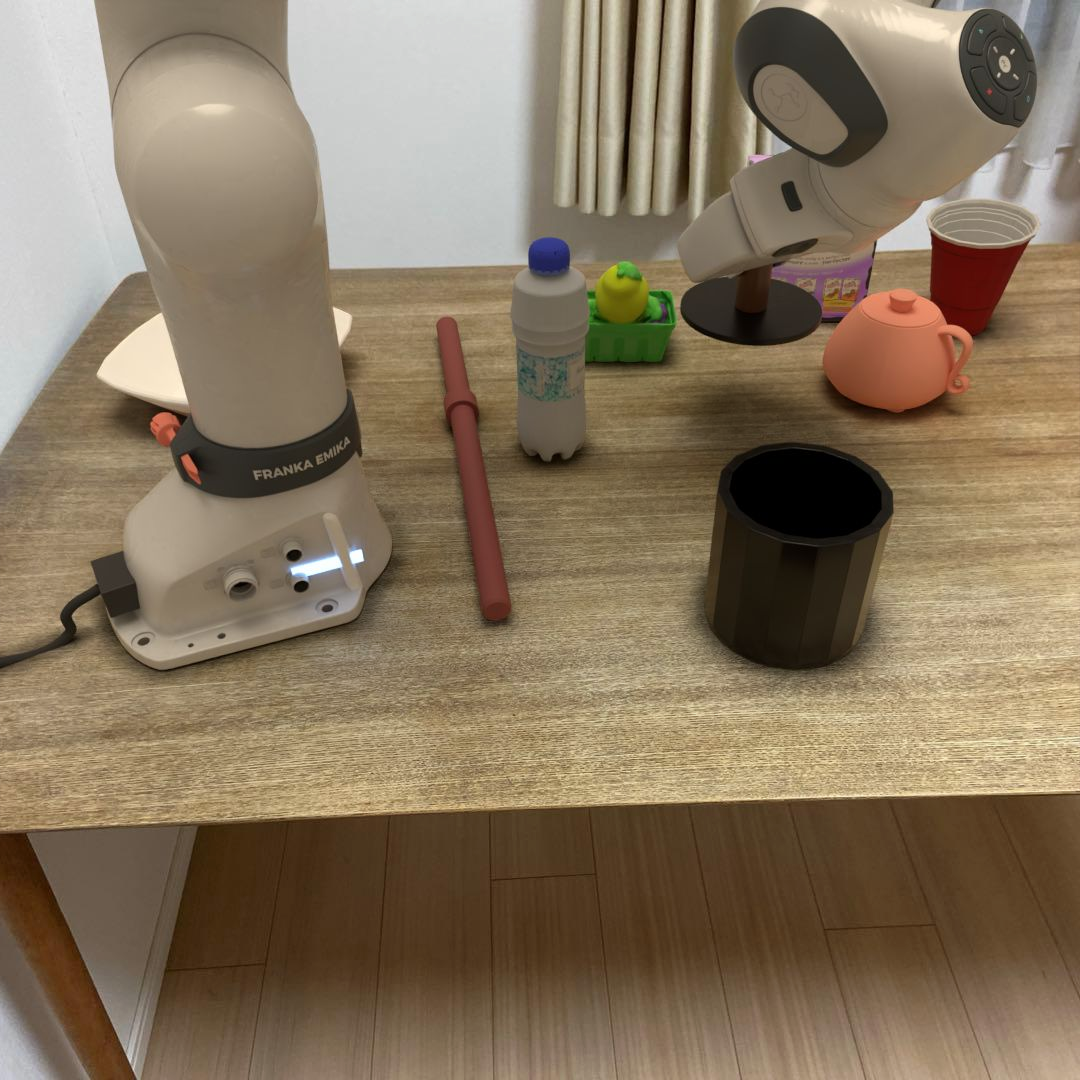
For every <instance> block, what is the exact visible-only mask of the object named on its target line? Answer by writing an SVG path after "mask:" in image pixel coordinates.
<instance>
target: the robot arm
mask: <svg viewBox="0 0 1080 1080" xmlns="http://www.w3.org/2000/svg"><path fill="white" fill-rule="evenodd" d="M941 1H942V0H759V2H758V3H757V4H756V6H755V7H754V8H753V10H752V12H751V13H750V15H749V16H748V18H747V19H746V21H744V23H743V24H742V25H741V27H740V29H739V30H738V32H737V34H736V37H735V41H734V45H733V52H732V60H733V72H734V77H735V79H736V83H737V86H738V87H737V88H738V89H739V92H740V94H741V97H742V98H743V100H744V102H745V103H746V105H747V107H748V108H749V109H750V111H751V113H752V114H753V115H754V116H755V117H756V118H757V119H758V121H760V123H761V124H763V125H764V127H765V128H767V129H768V130H769V131H770V132H771V133H772V134H773V135H774V136H775V137H776V138H778V139H779V140H780V141H782V142H783V143H784V144H786V145H787V146H789V147H791V148H789V149H787V150H785V151H783V152H779V153H777V154H773V155H774V156H772V157H770V158H767V159H765V160H762V161H759V162H757V163H754V164H753V165H750V166H747V165H746V166H744V167H743V168H741V169H740V170H739V171H737V172H736V173H735V174H734V175H733V176H732V177H731V178H730V180H729V184H730V185H729V186H730V188H731V190H730V191H728V192H726V193H724V194H723V195H720V196H719V197H718V198H716V199H715V200H714V201H713V202H712V203H710V204H709V205H708V206H707V207H706V208H705V209H704V210H702V211H701V213H700V214H699V215H697V217H696V218H695V219H694V220H693V221H692V222H691V223H690V224H689V225H688V226H687V227H686V228H685V229H684V231H683V232H682V233H681V235H680V236H679V238H678V239H677V244H676V247H677V251H678V256H679V259H680V262H681V265H682V267H683V270H684V272H685V274H686V276H687V277H688V279H689V280H690V282H692V283H694V284H699V283H701V282H704V281H707V280H711V279H715V278H720V277H728V278H729V279H731V278H735V277H739V276H743V275H745V274H746V273H747V272H749V271H750V270H751V269H754V268H758V267H762V266H766V265H770V264H773V267H778V266H782V265H784V264H786V263H787V262H788V261H790V260H791V259H793V258H797V257H801V256H805V255H809V254H813V253H825V252H832V253H837V254H850V253H855V252H858V251H860V250H863V249H864V248H866V247H867V246H869V245H870V244H872V243H873V242H875V241H876V240H877V241H879V239H881V238H882V237H884V236H885V235H887V234H888V233H889V232H891V231H893V230H894V229H895V228H897V227H898V226H900V225H901V224H903V223H904V222H906V221H907V220H909V219H910V218H911V217H912V216H913V215H914V214H915V213H916V212H917V211H918V209H919V208H920V207H921V206H922V205H923V203H924V202H927V201H931V200H934V199H937V198H940V197H942V196H943V195H945V194H946V193H948V192H950V191H951V190H953V189H954V188H956V187H957V186H958V185H960V184H961V183H963V182H964V181H966V180H967V179H968V178H969V177H971V176H972V175H974V174H975V173H976V172H977V171H979V170H980V169H981V168H982V167H984V166H985V165H986V164H988V163H989V162H990V161H991V160H992V159H993V158H995V156H997V155H999V153H1000V152H1002V151H1003V150H1004V149H1005V148H1006V147H1007V146H1008V145H1010V143H1011V142H1012V141H1013V140H1014V138H1016V137H1017V135H1018V134H1019V133H1020V132H1021V131H1022V129H1023V128H1024V126H1025V124H1026V123H1027V121H1028V118H1029V117H1030V114H1031V112H1032V110H1033V107H1034V104H1035V100H1036V96H1037V89H1038V69H1037V65H1036V64H1037V63H1036V59H1035V55H1034V53H1033V50H1032V47H1031V45H1030V41H1029V40H1028V38H1027V37H1026V35H1025V33H1024V32H1023V30H1022V29H1021V27H1020V26H1019V25H1018V24H1017V23H1016V21H1014V19H1013V18H1011V16H1009V15H1008V14H1006V13H1005V12H1003V11H1001V10H999V9H996V8H991V7H979V8H973V9H968V10H950V9H949V10H948V9H941V8H937V6H938V5H939V4H940V2H941ZM93 3H94V10H95V14H96V20H97V26H98V32H99V33H98V34H99V40H100V45H101V51H102V58H103V63H104V70H105V76H106V82H107V90H108V99H109V105H110V106H109V109H110V118H111V130H112V144H113V161H114V168H115V174H116V177H117V181H118V185H119V188H120V192H121V194H122V197H123V198H122V199H123V200H124V204H125V207H126V211H127V213H128V217H129V220H130V224H131V226H132V229H133V233H134V236H135V238H136V241H137V246H138V248H139V251H140V254H141V258H142V260H143V263H144V266H145V269H146V273H147V275H148V277H149V281H150V283H151V287H152V290H153V293H154V296H155V298H156V301H157V303H158V306H159V309H160V313H161V312H162V315H163V317H164V320H165V324H166V327H167V330H168V333H169V337H170V341H171V344H172V348H173V351H174V355H175V358H176V362H177V365H178V369H179V372H180V376H181V379H182V383H183V386H184V390H185V393H186V397H187V400H188V404H189V407H190V413H189V416H188V417H187V416H186V417H187V418H186V419H185V420H184V422H183V423H182V425H181V424H180V421H179V419H178V418H177V416H176V415H174V414H172V412H166V411H165V412H160V413H157V414H156V415H155V416H153V417H152V418H151V419H152V421H151V422H150V424H149V425H150V431H151V432H152V434H153V435H154V436H155V438H156V441H157V442H158V443H159V444H160V445H161V446H162V447H166V448H170V453H171V458H172V460H173V463H174V466H172V467H171V469H170V470H169V471H168V472H167V473H166V474H165V475H164V476H163V477H162V479H161V480H160V481H159V482H157V484H155V486H154V487H153V488H152V489H151V490H150V491H149V492H148V493H147V494H146V495H144V497H142V499H141V500H140V501H138V502H137V504H135V506H134V507H132V508H131V509H130V511H129V512H128V514H127V516H126V518H125V520H124V524H123V531H122V550H120V551H118V552H114V553H110V554H109V555H105V556H101V557H99V558H95V559H92V560H91V561H90V565H91V568H92V572H93V574H94V577H95V580H96V584H94V585H92V586H91V587H90V588H88V589H86V590H85V591H83V592H81V593H80V594H77V595H76V596H74V597H73V598H71V600H69V601H68V602H67V603H66V604H65V606H63V608H62V610H61V612H60V614H59V620H60V622H61V625H62V626H63V628H64V630H63V632H62V633H61V634H60V635H59V636H58V637H56V638H55V639H54V640H53V641H51V642H49V643H47V644H46V645H43V646H41V647H38V648H36V649H32V650H29V651H24V652H21V653H15V654H9V655H5V656H0V669H1V668H5V667H9V666H12V665H16V664H18V663H20V662H23V661H26V660H28V659H31V658H34V657H36V656H39V655H41V654H45V653H47V652H48V653H49V652H50V651H53V650H56V649H60V648H62V647H64V646H66V645H67V644H68V643H69V642H70V641H71V640H72V639H73V638H74V637H75V636H76V634H77V631H78V628H77V625H76V622H75V621H74V619H73V615H74V613H75V612H76V611H77V610H78V609H79V608H80V607H82V606H83V605H86V604H87V603H88V602H90V601H92V600H94V599H96V598H97V597H99V596H100V595H101V598H102V601H103V603H104V606H105V610H106V614H107V617H108V619H109V623H110V625H111V628H112V629H113V632H114V633H115V636H116V638H117V640H119V643H120V644H121V646H123V648H124V649H125V650H126V651H127V652H128V653H129V655H131V656H132V657H133V658H134V659H136V660H137V661H139V662H140V663H142V664H143V665H146V666H147V667H149V668H153V669H156V670H158V671H165V670H169V669H174V668H178V667H183V666H186V665H190V664H194V663H198V662H202V661H205V660H210V659H213V658H217V657H222V656H225V655H228V654H233V653H236V652H240V651H244V650H248V649H252V648H255V647H259V646H263V645H268V644H271V643H274V642H278V641H282V640H286V639H290V638H294V637H297V636H301V635H305V634H309V633H313V632H317V631H320V630H324V629H328V628H332V627H336V626H340V625H343V624H347V623H350V622H352V621H354V620H356V619H357V618H358V617H359V615H360V614H361V612H362V610H363V607H364V603H365V599H366V594H367V592H368V590H369V589H370V587H371V586H372V585H373V584H374V583H375V581H376V580H377V579H378V578H379V577H380V575H381V574H382V573H383V572H384V570H385V569H386V567H387V565H388V564H389V561H390V558H391V555H392V550H393V538H392V533H391V531H390V529H389V527H388V525H387V524H386V522H385V520H384V519H383V517H382V515H381V513H380V511H379V509H378V506H377V504H376V501H375V500H374V497H373V494H372V491H371V489H370V486H369V483H368V480H367V477H366V474H365V470H364V467H363V463H362V460H361V458H362V456H363V445H362V439H363V437H362V429H361V423H360V418H359V417H360V416H359V412H358V408H357V405H356V402H355V399H354V395H353V392H352V390H351V389H350V388H347V384H346V379H345V373H344V367H343V360H342V354H341V348H339V342H338V335H337V329H336V323H335V317H334V311H333V307H334V305H333V297H332V290H331V269H330V268H331V267H330V253H329V252H330V251H329V238H328V228H327V220H326V219H327V217H326V210H325V208H326V207H325V199H324V190H323V183H322V173H321V166H320V158H319V151H318V146H317V142H316V138H315V135H314V133H313V130H312V128H311V126H310V124H309V122H308V120H307V118H306V117H305V114H304V113H303V110H302V109H301V107H300V105H299V103H298V102H297V101H298V100H297V99H296V96H295V92H294V88H293V84H292V80H291V76H290V75H291V74H290V69H289V68H290V67H289V0H93ZM773 267H772V268H773Z"/></svg>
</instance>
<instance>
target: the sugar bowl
mask: <svg viewBox="0 0 1080 1080" xmlns="http://www.w3.org/2000/svg"><path fill="white" fill-rule="evenodd" d="M953 337H954V338H955V339H957V340H959V341H960V342H961V344H962V351H961V354H960V355H959V357H958V360H956V359H957V357H956V349H955V342H954V339H953ZM973 349H974V340H973V338H972V335H971V336H970V334H969V333H968V332H967V331H966V330H964V329H963V328H961V327H959V326H956V325H947V323H946V321H945V318H944V316H943V314H942V313H941V311H940V309H939V308H938V307H937V306H936V305H935V304H934V303H933V302H931V301H930V299H928V298H926V297H923V296H920V295H918V294H917V293H916V292H915V291H913V290H911V289H907V288H895V289H892V290H890V291H881V292H875V293H873V294H869V295H867V297H866V298H864V299H863V300H862V301H861V302H859V303H858V304H857V305H856V306H855V307H854V308H853V309H852V310H851V311H850V312H849V313H848V314H847V315H846V316H845V317H844V318H843V319H842V321H839V323H838V324H837V325H836V327H835V328H834V329H833V332H832V333H831V335H830V336H829V339H828V341H827V343H826V345H825V348H824V351H823V356H822V362H821V363H822V366H823V367H822V369H823V371H824V373H825V375H826V377H827V378H828V380H829V381H830V383H831V384H832V386H834V387H835V389H836V390H837V391H838V392H839V394H841V395H842V396H844V397H846V398H848V399H849V400H851V401H853V402H856V403H857V404H860V405H864V406H867V407H871V408H875V409H882V410H886V411H888V412H891V413H903V412H904V411H905V410H909V409H915V408H918V407H921V406H923V405H926V404H927V403H929V402H932V401H933V400H935V399H936V398H938V397H939V396H941V395H943V394H944V393H945V392H947V393H949V394H950V395H954V396H958V395H963V394H964V393H966V392H967V391H968V390H969V387H970V385H971V384H970V379H969V377H968V376H967V375H965V374H963V373H961V371H962V370H963V369H964V367H965V366H966V364H967V363H968V361H969V358H970V357H971V355H972V352H973ZM956 381H959V382H960V384H961V385H959V384H956Z"/></svg>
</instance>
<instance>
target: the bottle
mask: <svg viewBox="0 0 1080 1080" xmlns="http://www.w3.org/2000/svg"><path fill="white" fill-rule="evenodd" d="M527 260H528V261H527V263H528V267H526V268H524V269H521V270H520V271H519V272H518V273H517V274H516V275H515V277H514V279H513V286H512V296H511V305H510V312H509V317H510V320H511V322H512V323H511V326H510V327H511V332H512V334H513V335H514V337H515V351H516V376H517V379H516V380H517V405H516V406H517V408H516V430H517V435H518V438H519V440H520V443H521V446H522V448H523V451H524V452H525V453H526V455H528V456H530V457H535V456H537V454H539V456H540V458H541V459H542V461H543V462H551V461H552V459H553V455H555V454H560V458H561V459H562V460H568V459H571V457H572V456H573V454H574V452H575V451H579V450H580V449H581V448H582V447H583V445H584V444H585V440H586V435H587V406H586V394H585V393H586V392H585V383H586V382H585V381H586V379H585V378H586V377H585V375H586V367H585V366H586V362H585V336H586V334H587V332H588V330H589V323H588V320H589V317H590V309H589V303H588V296H587V290H588V289H587V281H586V277H585V275H584V274H583V273H582V271H580V270H578V269H577V268H575V267H573V266H570V265H571V250H570V247H569V245H568V244H567V242H566V241H564V240H563V239H561V238H557V237H552V236H547V237H540V238H539V239H538V238H537V239H536V240H534V241H533V242H532V243H531V244H530V245H529V248H528V251H527Z"/></svg>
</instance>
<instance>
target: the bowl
mask: <svg viewBox="0 0 1080 1080" xmlns="http://www.w3.org/2000/svg"><path fill="white" fill-rule="evenodd" d="M333 311H334V317H335V323H336V329H337V335H338V342H339V348H340V349H342V347H343V345H344V343H345V341H346V340H347V338H348V337H349V336H350V333H351V331H352V324H353V316H352V315H351V314H350V313H348V312H346V311H344V310H341V309H339V308H337V307H335V306H333ZM96 377H97V379H98V380H99V381H100V382H103V383H104V384H106V385H107V386H109V387H110V388H112V389H114V390H116V391H119V392H121V393H124V394H126V395H128V396H131V397H134V398H137V399H139V400H142V401H144V402H148V403H150V404H153V405H155V406H158V407H160V408H163V409H165V410H168V411H171V412H173V413H175V414H178V415H181V416H184V417H188V416H189V413H190V407H189V404H188V400H187V397H186V393H185V390H184V386H183V383H182V379H181V376H180V372H179V369H178V365H177V362H176V358H175V355H174V351H173V348H172V344H171V341H170V337H169V333H168V330H167V327H166V324H165V320H164V317H163V315H162V312H161V311H160V313H158V314H156V315H154V316H153V317H152V318H150V319H148V320H147V321H146V322H144V323H143V324H141V325H140V326H137V328H135V329H134V330H133V331H132V332H130V334H129V335H127V336H126V337H125V338H124V339H123V340H122V341H120V342H119V344H117V346H115V347H114V348H113V350H112V351H111V352H110V353H108V355H107V356H105V358H104V359H103V361H102V362H101V365H100V367H99V368H98V370H97V372H96Z"/></svg>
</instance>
